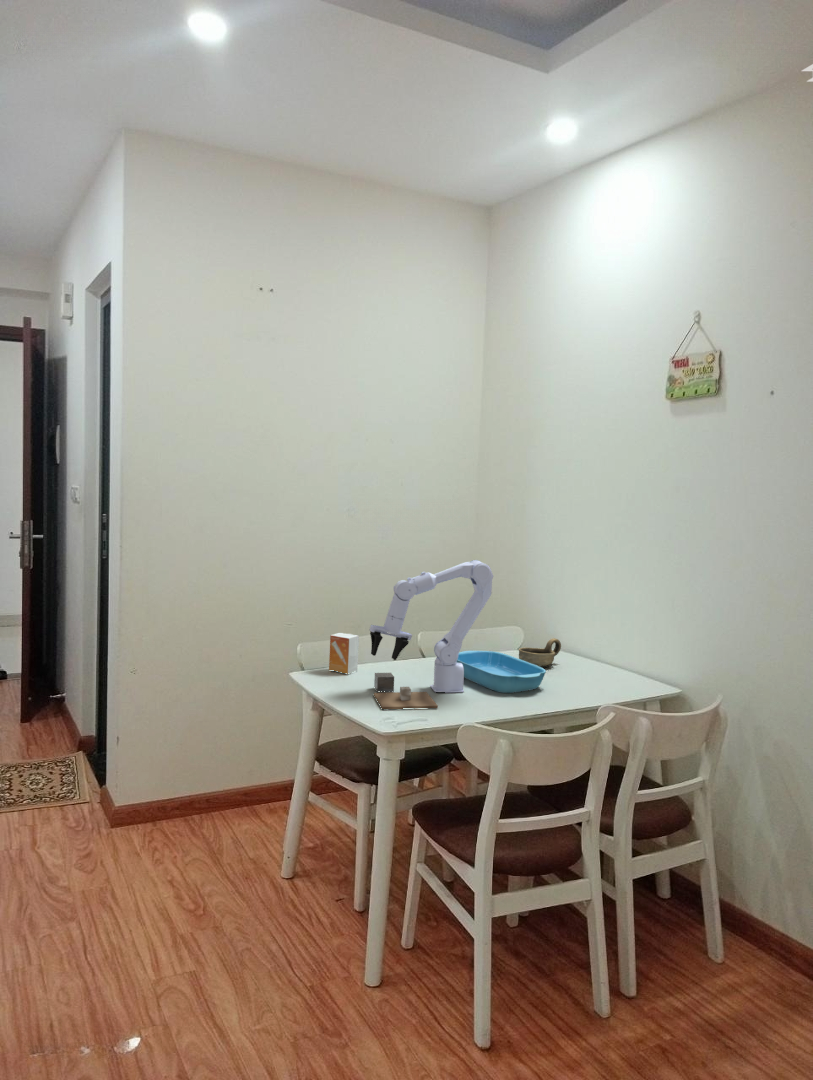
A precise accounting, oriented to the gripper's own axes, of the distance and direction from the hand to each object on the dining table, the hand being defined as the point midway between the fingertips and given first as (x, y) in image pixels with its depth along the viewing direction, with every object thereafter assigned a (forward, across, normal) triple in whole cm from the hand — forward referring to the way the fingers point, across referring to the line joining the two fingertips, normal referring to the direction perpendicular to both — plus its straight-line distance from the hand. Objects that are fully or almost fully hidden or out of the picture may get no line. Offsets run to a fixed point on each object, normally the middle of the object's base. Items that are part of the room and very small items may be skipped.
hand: (383, 656), depth 260 cm
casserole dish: (0, -44, +2) cm, 44 cm away
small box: (+14, 0, -25) cm, 28 cm away
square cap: (+10, -3, +1) cm, 11 cm away
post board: (+9, -4, +15) cm, 18 cm away
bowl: (-6, -71, -13) cm, 73 cm away
